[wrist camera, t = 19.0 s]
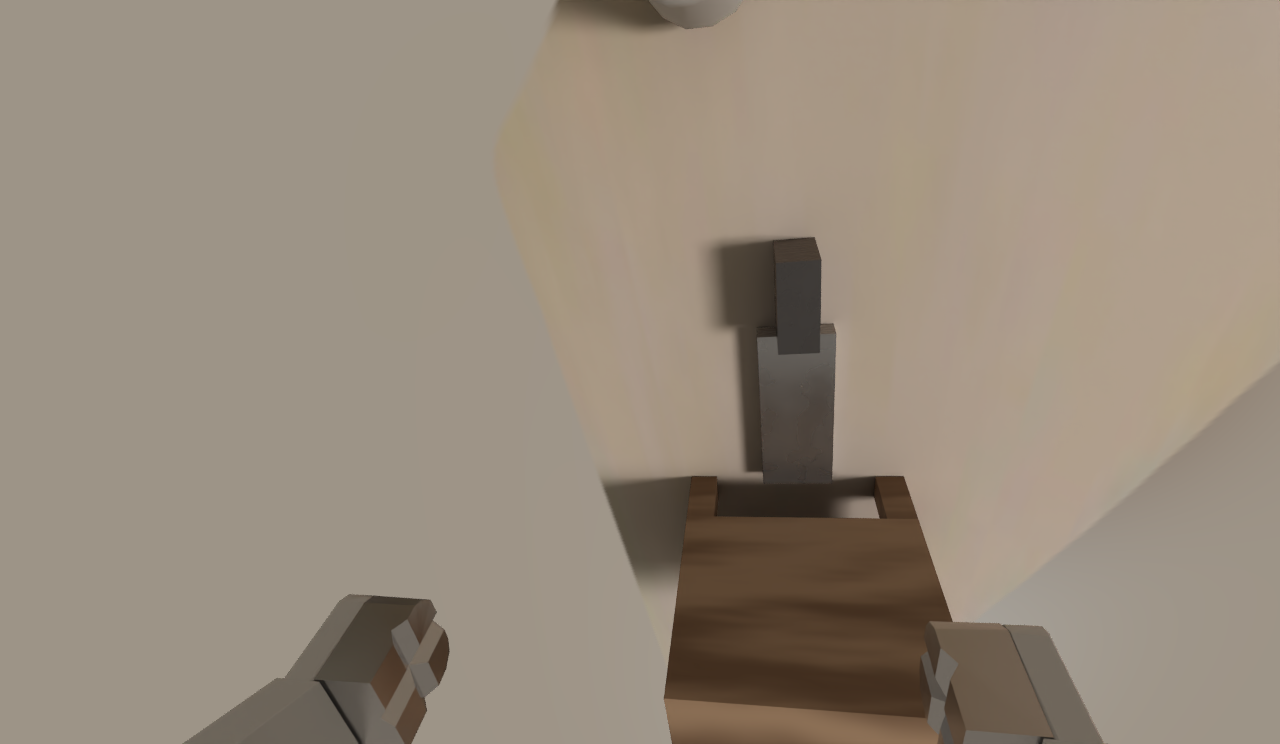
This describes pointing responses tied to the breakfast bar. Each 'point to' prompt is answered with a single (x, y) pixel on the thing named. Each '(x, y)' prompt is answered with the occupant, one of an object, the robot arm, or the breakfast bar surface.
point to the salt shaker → (695, 11)
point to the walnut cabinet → (802, 626)
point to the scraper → (797, 371)
